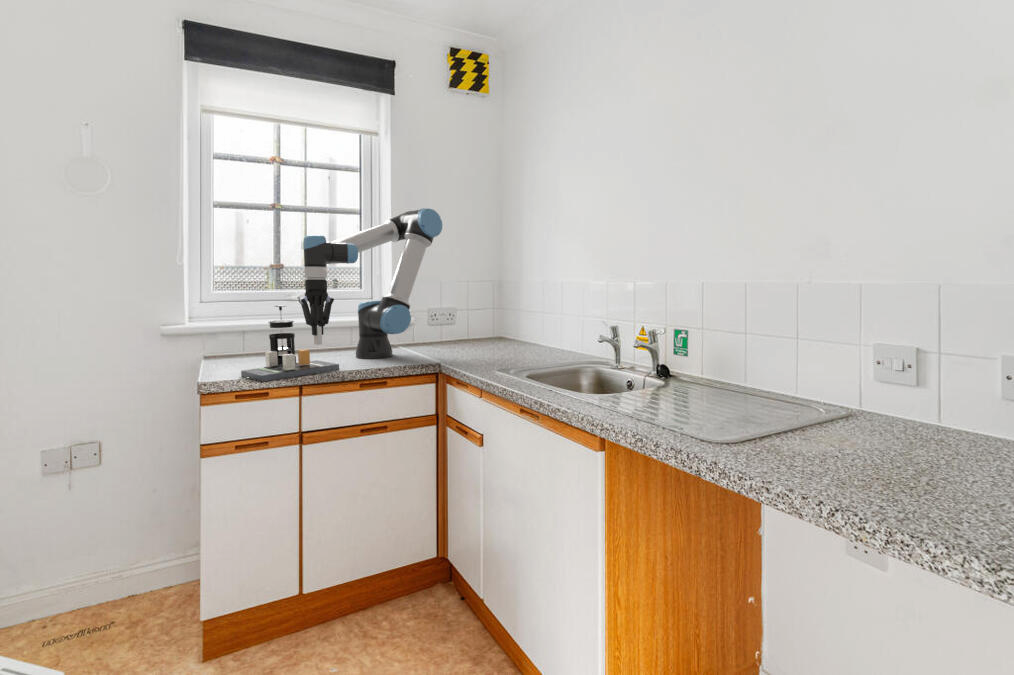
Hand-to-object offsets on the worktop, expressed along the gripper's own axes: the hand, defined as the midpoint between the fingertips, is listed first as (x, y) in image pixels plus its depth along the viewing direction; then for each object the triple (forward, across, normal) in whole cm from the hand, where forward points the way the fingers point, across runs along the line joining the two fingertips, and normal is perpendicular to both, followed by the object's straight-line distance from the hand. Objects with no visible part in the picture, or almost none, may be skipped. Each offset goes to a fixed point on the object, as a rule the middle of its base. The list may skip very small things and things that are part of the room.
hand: (318, 344), depth 191 cm
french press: (+9, +4, -18) cm, 21 cm away
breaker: (+7, +6, 0) cm, 9 cm away
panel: (+9, +10, 0) cm, 14 cm away
